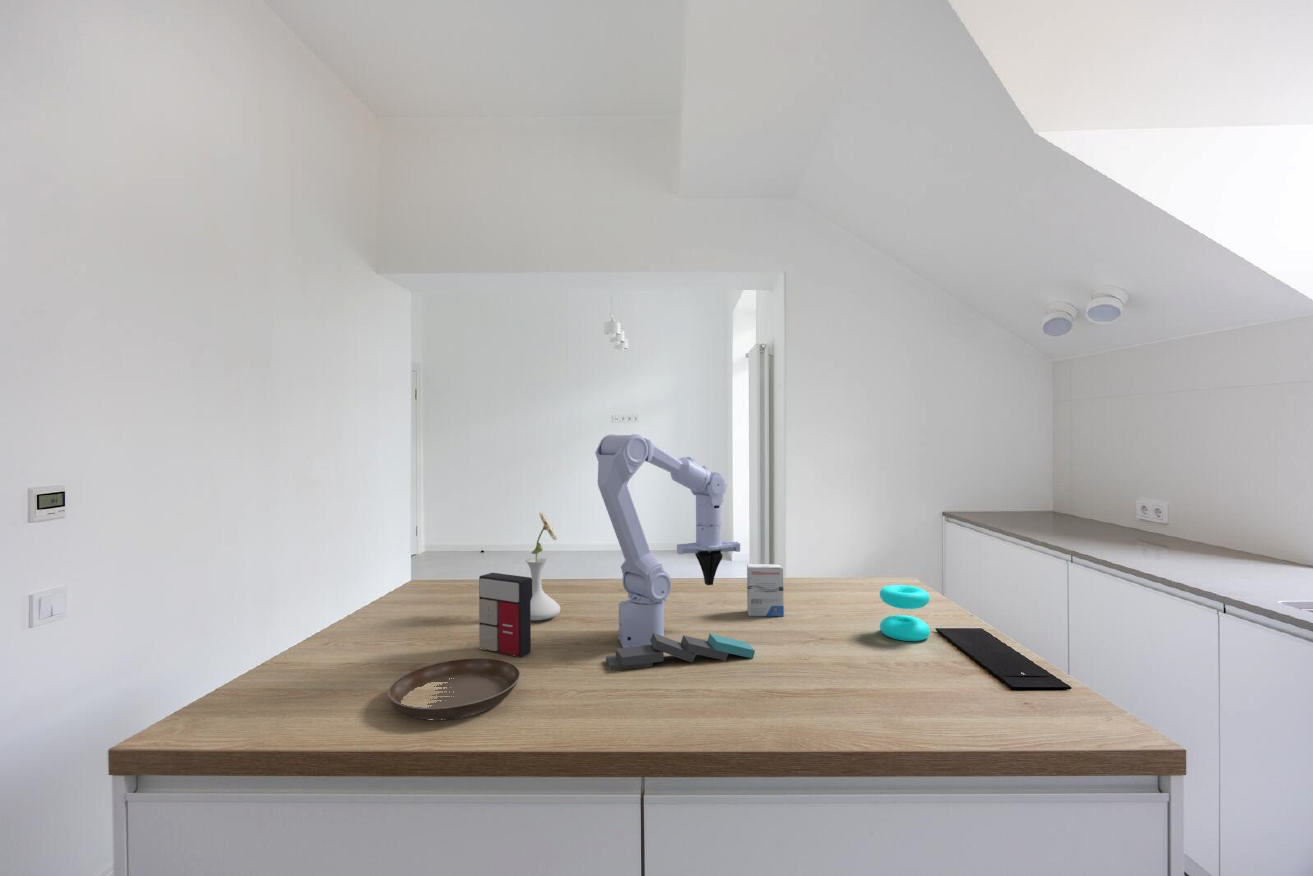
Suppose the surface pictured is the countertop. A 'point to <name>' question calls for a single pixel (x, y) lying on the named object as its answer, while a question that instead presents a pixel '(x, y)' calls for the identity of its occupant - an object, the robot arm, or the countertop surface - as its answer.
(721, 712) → the countertop surface
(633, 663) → the black domino
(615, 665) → the black domino
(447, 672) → the plant saucer
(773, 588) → the ink box
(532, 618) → the flower in vase
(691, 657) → the domino block
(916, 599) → the donuts
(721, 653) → the black domino
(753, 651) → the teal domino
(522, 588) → the toy cabinet
